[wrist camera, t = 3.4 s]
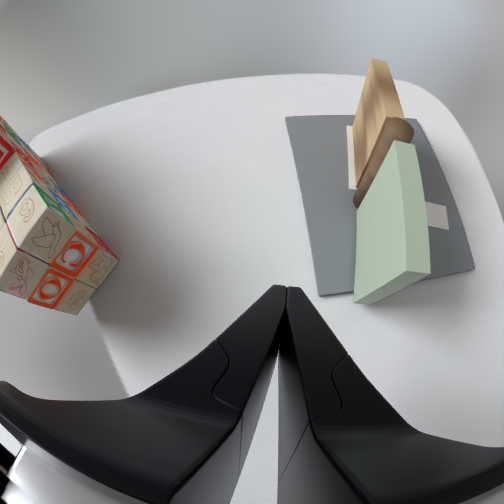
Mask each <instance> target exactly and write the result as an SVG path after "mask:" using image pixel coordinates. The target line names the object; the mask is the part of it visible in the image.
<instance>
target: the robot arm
mask: <svg viewBox="0 0 504 504" xmlns="http://www.w3.org/2000/svg"><path fill="white" fill-rule="evenodd" d="M278 350H279V354H278ZM277 356H278V385H279V437H278V496H277V504H504V447H484V446H479V445H473V444H468V443H463V442H458V441H454V440H449V439H445V438H441V437H437V436H433V435H429V434H426V433H423V432H420V431H418V430H417V429H415V428H413V427H412V426H411V425H409V424H408V423H407V422H406V421H405V420H404V419H403V418H402V417H401V416H400V415H399V414H398V412H397V411H396V410H395V409H394V408H393V407H392V406H391V405H390V404H389V403H388V401H387V400H386V399H385V398H384V397H383V396H382V395H381V394H380V393H379V392H378V391H377V389H376V388H375V387H374V386H373V385H372V384H371V382H370V381H369V380H368V379H367V378H366V377H365V375H364V374H363V373H362V372H361V370H360V369H359V368H358V366H357V365H356V364H355V362H354V361H353V359H352V358H351V357H350V355H348V353H347V351H346V350H345V348H344V347H343V346H342V344H341V343H340V341H339V340H338V339H337V337H336V336H335V334H334V333H333V332H332V330H331V329H330V327H329V326H328V325H327V323H326V322H325V321H324V319H323V318H322V316H321V315H320V314H319V312H318V311H317V309H316V308H315V307H314V305H313V304H312V303H311V301H310V300H309V299H308V297H307V296H306V294H305V293H304V292H303V290H302V289H301V288H300V287H291V286H289V287H286V286H283V285H273V286H271V287H270V288H269V289H268V290H267V291H266V292H265V293H264V294H263V295H262V296H261V297H260V298H259V299H258V300H257V301H256V302H255V303H254V304H253V305H252V306H251V307H249V308H248V309H247V310H246V311H245V312H244V313H243V314H242V315H241V316H240V317H239V318H238V319H237V320H236V321H235V322H233V323H232V324H231V325H230V326H229V327H228V328H227V329H226V330H225V331H224V332H223V333H222V334H220V335H219V336H218V337H217V338H216V340H214V341H213V342H212V343H210V344H209V345H208V346H207V347H206V348H205V349H204V350H202V351H201V352H200V353H199V354H198V355H196V356H195V357H194V358H192V359H191V360H190V361H188V362H187V363H186V364H184V365H183V366H181V367H180V368H178V369H177V370H175V371H174V372H172V373H171V374H169V375H168V376H166V377H165V378H163V379H162V380H160V381H159V382H157V383H155V384H154V385H152V386H151V387H149V388H148V389H146V390H144V391H143V392H141V393H139V394H137V395H135V396H132V397H129V398H126V399H121V400H104V401H103V400H102V401H62V400H46V399H40V398H35V397H32V396H29V395H27V394H25V393H23V392H21V391H19V390H18V389H17V388H15V387H14V386H12V385H11V384H9V383H8V382H5V381H0V423H1V424H2V425H3V426H4V427H5V428H6V429H7V430H8V431H9V432H10V433H11V434H12V435H13V436H14V437H15V438H16V439H17V440H18V441H20V443H22V444H23V446H22V447H21V449H20V451H19V453H18V454H17V456H16V457H15V456H14V455H13V454H12V453H11V452H10V451H8V450H7V449H6V448H5V447H4V446H3V445H2V444H1V443H0V504H230V501H231V498H232V496H233V493H234V490H235V488H236V485H237V482H238V479H239V477H240V474H241V471H242V468H243V465H244V462H245V460H246V457H247V454H248V451H249V448H250V445H251V442H252V439H253V436H254V433H255V430H256V426H257V423H258V420H259V417H260V414H261V411H262V407H263V404H264V401H265V398H266V394H267V391H268V388H269V384H270V381H271V377H272V374H273V371H274V367H275V364H276V360H277Z"/></svg>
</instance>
